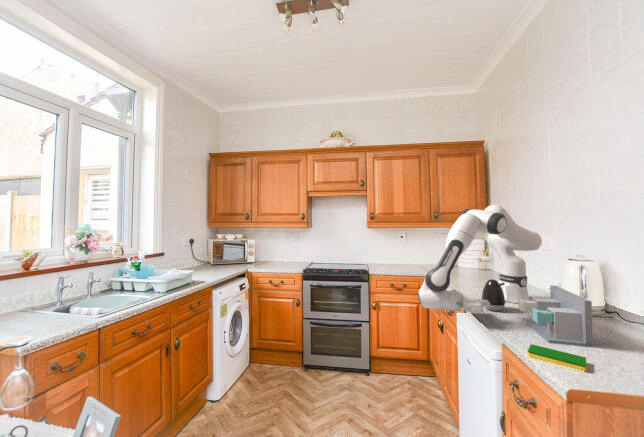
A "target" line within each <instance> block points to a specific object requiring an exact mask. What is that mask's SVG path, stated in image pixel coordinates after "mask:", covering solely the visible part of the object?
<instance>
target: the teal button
mask: <svg viewBox="0 0 644 437" xmlns="http://www.w3.org/2000/svg"><path fill="white" fill-rule="evenodd" d="M531 318H532V320H534V321H535V322H536V323H538V324H541V322H544V323H554V313H553V312H552V311H543V310H537V309H535V308H532V311H531Z"/></svg>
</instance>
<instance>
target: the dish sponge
mask: <svg viewBox="0 0 644 437" xmlns="http://www.w3.org/2000/svg"><path fill="white" fill-rule="evenodd" d="M527 357H528V358H530V359H534V358H535V359H534V360H537V359H539V360H538V361H541V360H543V361H542V362H545V361H546V363H548V362H551V363H550V364H552V363H554V364H553V365H556V364H558V365H557V366H559V365H562V366H561V367H563V366H566V367H565V368H567V367H570V368H569V369H571V368H574V369H577V370H576V371H578V370H581V371H580V372H582V371H586V372H587V357H585V356H583V355H579V354H574V353H568V352H565V351H561V350H556V349H553V348H548V347H545V346H540V345H536V344H530V345H529V347H528V348H527ZM574 369H573V370H574Z"/></svg>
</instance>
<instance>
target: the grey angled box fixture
mask: <svg viewBox="0 0 644 437" xmlns="http://www.w3.org/2000/svg"><path fill="white" fill-rule="evenodd" d="M530 301H536V302H537V310H543V311H552V312H553V313H554V323H544V322H541V324H538V323H536V322H535V321H534V320H532V317H531V318H530V317H522V318H521V320H522V321H523V322H524V323H525V324H526V325H527V326H528V327H530V328H531V329H532V330H533V331H535V332H536V334H538V335H539V336H540V337H541V338H542V339H544V340H545V341H546V342H547V343H549V344H556V345H557V344H558V345H560V344H561V345H567V346H569V345H570V346H577V347H578V346H580V347H588V348H597V343H595V342H594V337H593V334H594V332H593V305H592V304H593V302H592V300H589V299H587V298H585V297H583V296H580V295H578V294H575V293H574V292H571V291H568V290H566V289H564V288H561V287H559V286H558V285H550V298H548V297H547V298H546V297H545V298H544V297H531V299H530Z"/></svg>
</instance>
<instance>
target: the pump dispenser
mask: <svg viewBox="0 0 644 437" xmlns="http://www.w3.org/2000/svg"><path fill="white" fill-rule="evenodd" d="M502 285H505V283H498V280H496V279H488V280H487V281H486V282H485V284H484V286H483V289H482V293H481V299H482V300H488V301H489V302H490V306H483V308H485V309H486V310H489V311H491V310H492V312H499V311H502V310H503V309H504V307H505V305H506V302H505V297H504V293H503V290H502V288H501V286H502Z"/></svg>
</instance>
